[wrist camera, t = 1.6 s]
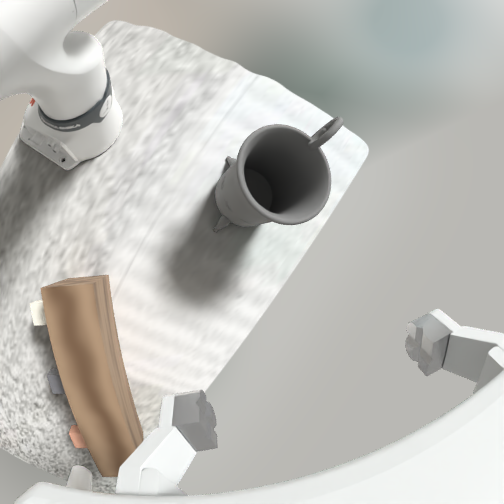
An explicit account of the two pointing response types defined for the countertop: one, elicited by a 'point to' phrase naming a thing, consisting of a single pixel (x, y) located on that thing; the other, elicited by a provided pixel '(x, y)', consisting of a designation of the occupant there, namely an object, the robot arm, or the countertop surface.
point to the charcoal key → (55, 382)
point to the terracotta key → (77, 437)
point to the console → (93, 368)
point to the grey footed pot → (276, 177)
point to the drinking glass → (80, 478)
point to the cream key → (38, 313)
